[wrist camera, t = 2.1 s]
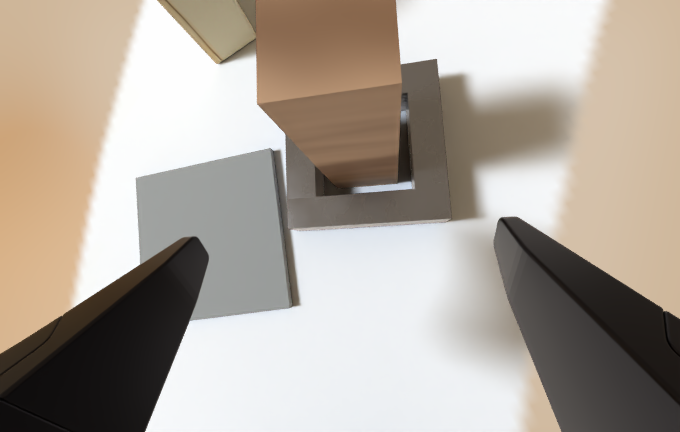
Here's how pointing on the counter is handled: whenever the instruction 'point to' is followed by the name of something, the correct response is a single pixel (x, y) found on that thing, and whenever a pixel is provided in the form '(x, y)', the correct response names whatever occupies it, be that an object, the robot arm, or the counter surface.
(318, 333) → the counter surface
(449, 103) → the counter surface
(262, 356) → the counter surface
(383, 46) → the walnut peg
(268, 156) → the mat
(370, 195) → the collar
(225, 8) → the skincare box
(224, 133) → the counter surface
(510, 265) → the robot arm
